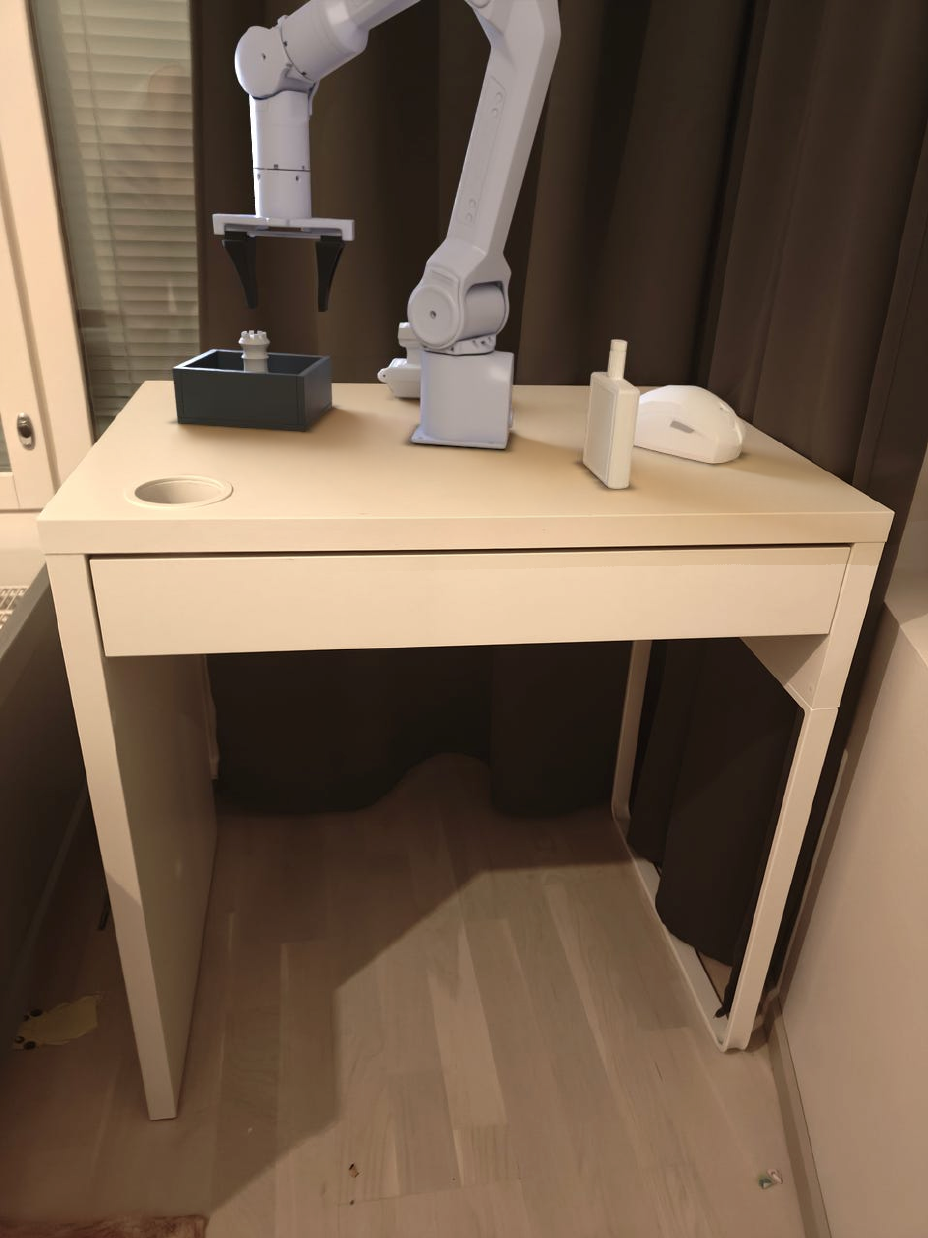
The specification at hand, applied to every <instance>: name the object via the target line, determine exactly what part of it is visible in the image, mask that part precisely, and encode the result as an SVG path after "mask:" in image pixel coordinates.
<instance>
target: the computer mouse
mask: <svg viewBox="0 0 928 1238" xmlns="http://www.w3.org/2000/svg"><path fill="white" fill-rule="evenodd" d="M746 434H747V429H746V426H745V424H744V423H743V421H742V420H741V419H740V418H739V417H738V415H737V414H736V412H735V410H734V409H733V408H732V407H731V406H730V405H729V404H728V403H727V402H726V401H724V400H723V399H722V398H720V397H719V396H718V395H716V394H714V393H713V392H711V391H709V390H707V389H705V388H703V387H700V386H697V385H682V384H681V385H675V384H668V385H665V386H662V387H658V388H655V389H652V390H648V391H647V392H645V393H643V394H640V398H639V406H638V414H637V422H636V430H635V438H634V446H635V447H639V448H643V449H646V450H651V451H655V452H659V453H664V454H666V455H667V454H668V455H671V456H676V457H678V458H679V457H680V458H683V459H688V460H694V461H697V462H701V463H707V464H724V463H727V462H731V461H734V460H736V459H738V458H739V456H740V454H741V452H742V450H743V447H744V445H745V442H746V439H747V437H746V436H747V435H746ZM634 446H633V447H634Z"/></svg>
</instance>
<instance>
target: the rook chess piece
mask: <svg viewBox="0 0 928 1238" xmlns="http://www.w3.org/2000/svg"><path fill="white" fill-rule="evenodd" d="M270 343H271V341H270V340H269V339H268V337H267V332H266V331H262V330H257V332H256V333H255V330H248V331H246V330H244V331H242V332H241V337H240V339H239V340H238V344H239V345H240V346H241V348H242V351H244V353H243V355H242V358H243V359H244V371H252V372H268V367H267V359H268V357H269V356H268V355H267V353H268V352H267V348H268V347H269V345H270ZM268 373H269V372H268Z"/></svg>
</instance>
